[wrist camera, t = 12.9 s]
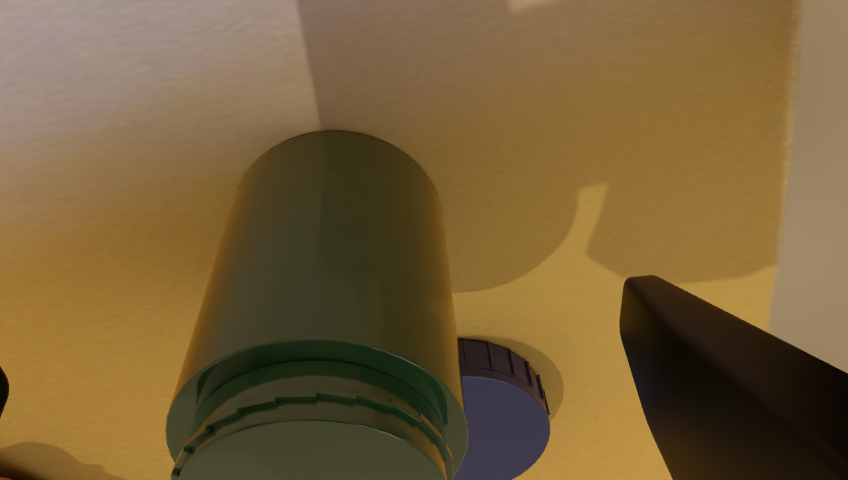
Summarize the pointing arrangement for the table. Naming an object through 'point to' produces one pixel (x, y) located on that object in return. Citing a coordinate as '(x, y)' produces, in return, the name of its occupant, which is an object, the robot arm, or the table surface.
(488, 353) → the lid
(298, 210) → the jar
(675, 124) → the table surface
